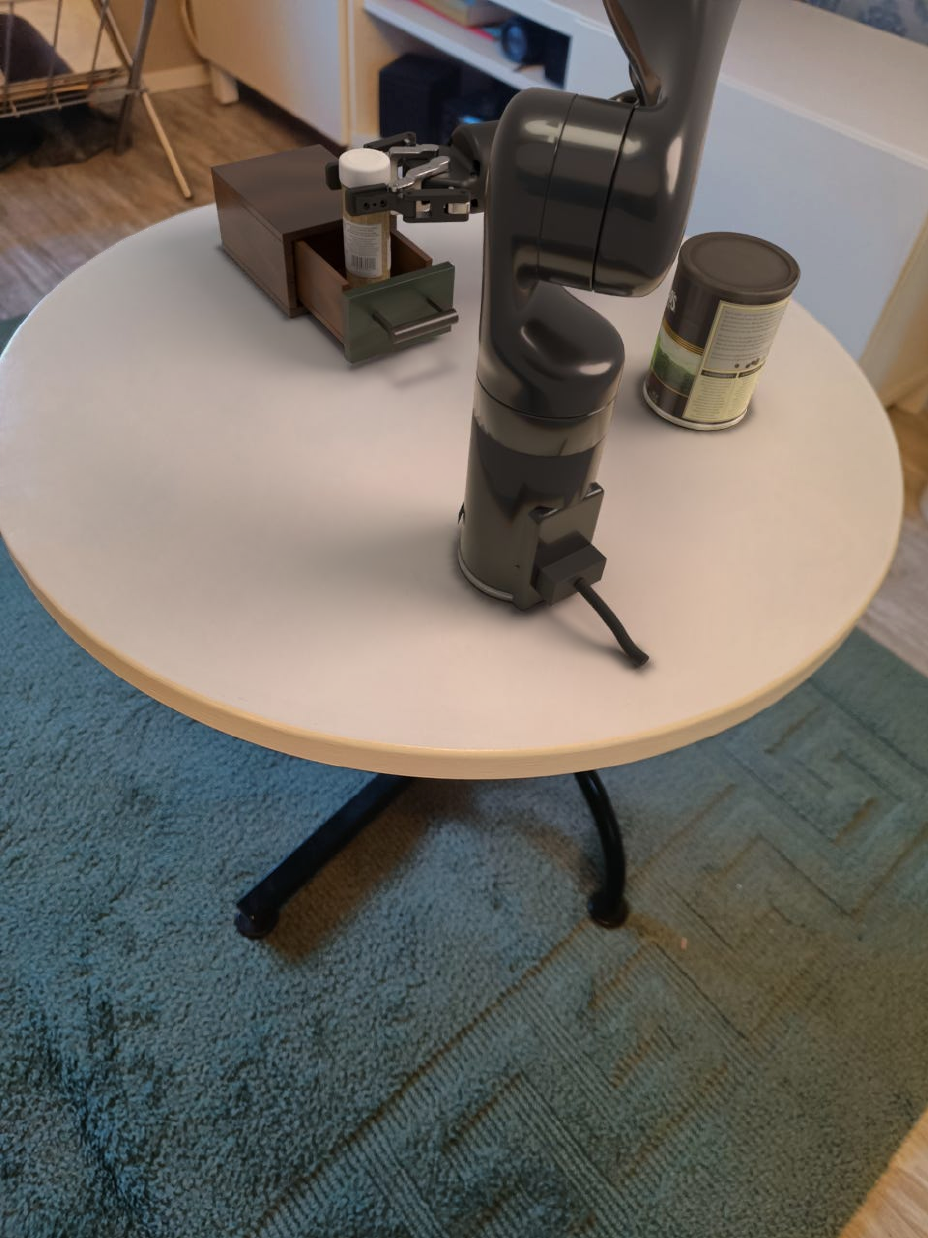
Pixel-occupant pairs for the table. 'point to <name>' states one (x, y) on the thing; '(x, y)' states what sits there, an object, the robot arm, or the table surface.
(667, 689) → the table surface
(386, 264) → the sprinkles bottle
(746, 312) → the coffee can
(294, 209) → the cabinet
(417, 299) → the drawer
